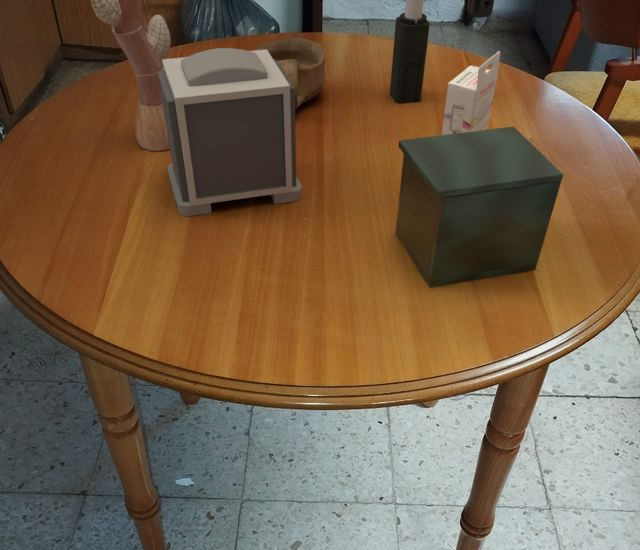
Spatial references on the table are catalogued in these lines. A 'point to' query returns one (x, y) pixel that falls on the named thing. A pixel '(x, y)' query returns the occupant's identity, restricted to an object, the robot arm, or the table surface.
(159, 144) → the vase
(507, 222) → the chest
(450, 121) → the ink cartridge box
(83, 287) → the table surface
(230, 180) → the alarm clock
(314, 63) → the bowl
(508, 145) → the lid
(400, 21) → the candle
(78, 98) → the table surface
